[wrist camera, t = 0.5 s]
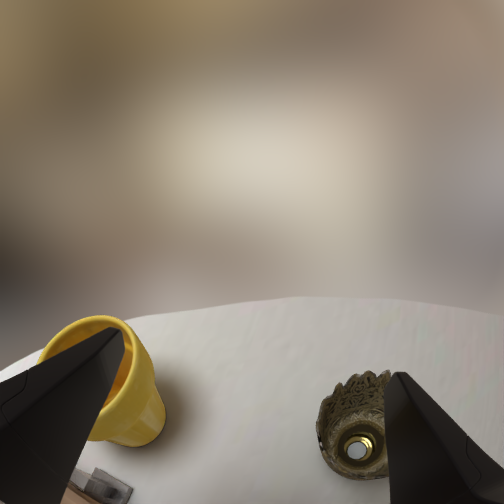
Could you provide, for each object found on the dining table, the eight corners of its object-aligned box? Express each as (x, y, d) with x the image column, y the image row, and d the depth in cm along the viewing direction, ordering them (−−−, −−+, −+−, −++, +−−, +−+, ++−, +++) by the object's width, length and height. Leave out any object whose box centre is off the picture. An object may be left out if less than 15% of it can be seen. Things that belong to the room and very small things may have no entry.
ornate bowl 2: (409, 471, 15) (451, 446, 11) (322, 502, 15) (334, 496, 11) (383, 401, 21) (408, 354, 17) (303, 425, 21) (304, 386, 17)
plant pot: (87, 390, 26) (34, 335, 20) (166, 360, 29) (127, 296, 23) (103, 474, 18) (31, 437, 12) (200, 444, 21) (153, 400, 15)
